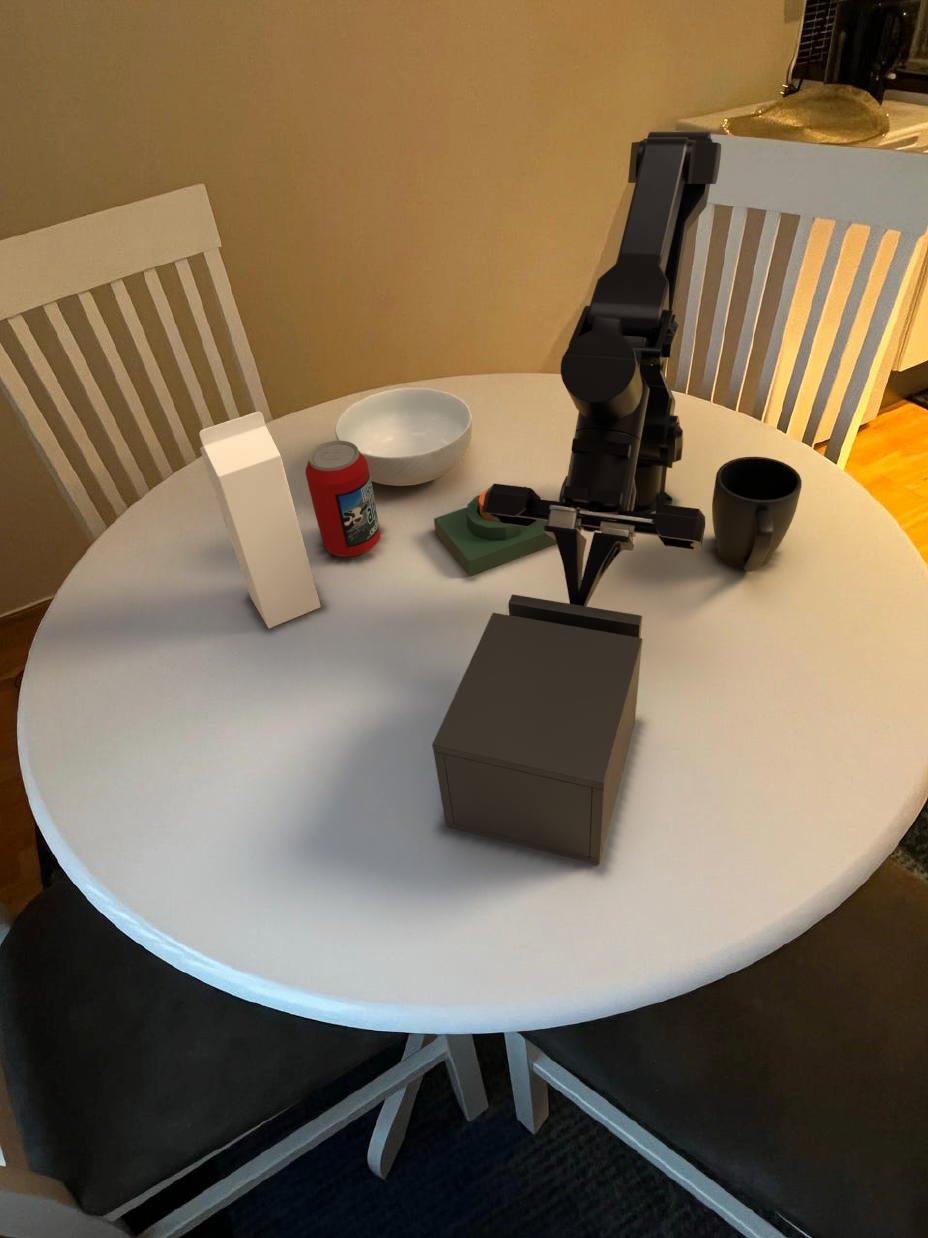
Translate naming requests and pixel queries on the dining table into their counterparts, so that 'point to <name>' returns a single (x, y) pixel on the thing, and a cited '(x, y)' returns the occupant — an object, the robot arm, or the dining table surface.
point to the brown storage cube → (540, 735)
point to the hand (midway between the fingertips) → (576, 614)
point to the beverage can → (343, 498)
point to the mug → (753, 509)
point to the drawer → (575, 615)
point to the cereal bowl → (408, 434)
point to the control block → (487, 538)
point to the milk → (260, 517)
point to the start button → (481, 501)
